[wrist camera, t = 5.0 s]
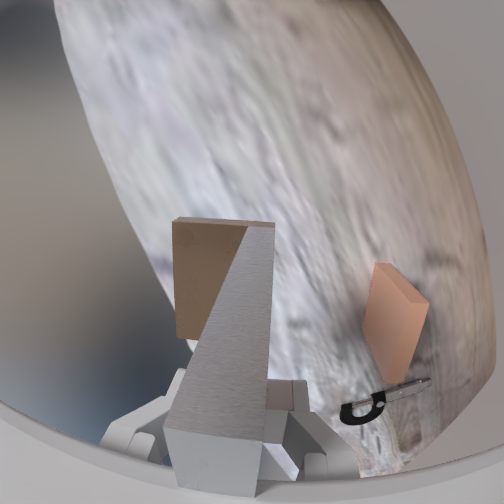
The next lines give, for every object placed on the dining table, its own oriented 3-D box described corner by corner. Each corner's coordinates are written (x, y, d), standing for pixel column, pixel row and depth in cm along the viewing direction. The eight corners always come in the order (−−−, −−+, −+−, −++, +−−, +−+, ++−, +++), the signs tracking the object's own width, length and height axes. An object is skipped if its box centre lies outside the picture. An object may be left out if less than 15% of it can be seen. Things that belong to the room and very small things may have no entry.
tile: (375, 262, 34) (411, 303, 23) (390, 263, 34) (430, 303, 23) (361, 329, 36) (385, 383, 26) (375, 329, 36) (402, 382, 26)
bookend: (179, 216, 19) (-19, 358, 4) (275, 222, 19) (262, 440, 4) (183, 326, 21) (86, 515, 7) (266, 335, 21) (244, 556, 6)
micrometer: (340, 426, 42) (342, 438, 40) (336, 399, 40) (339, 411, 38) (424, 402, 40) (429, 412, 38) (428, 372, 38) (434, 382, 36)
